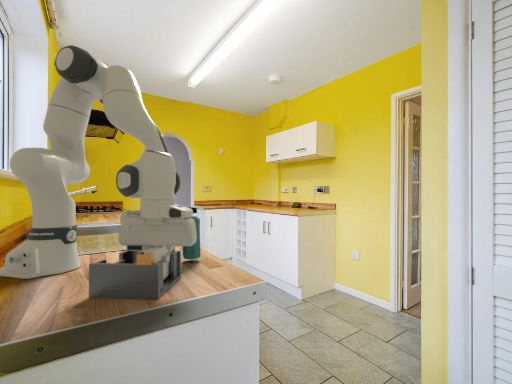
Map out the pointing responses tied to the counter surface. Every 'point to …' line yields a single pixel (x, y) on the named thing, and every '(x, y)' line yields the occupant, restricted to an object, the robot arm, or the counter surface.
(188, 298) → the counter surface
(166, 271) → the panel
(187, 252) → the beverage bottle
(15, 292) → the counter surface
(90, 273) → the rack
